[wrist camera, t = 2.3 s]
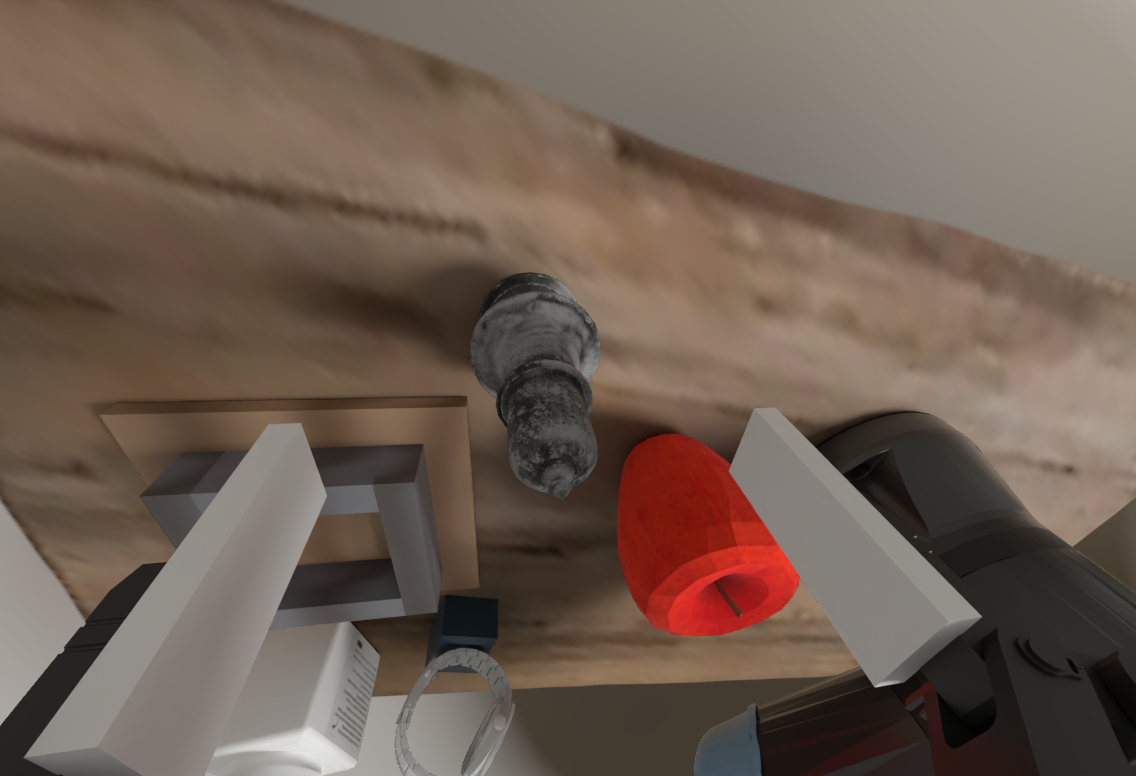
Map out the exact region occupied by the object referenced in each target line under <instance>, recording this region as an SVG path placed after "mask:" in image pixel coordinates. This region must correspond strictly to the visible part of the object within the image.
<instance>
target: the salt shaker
mask: <svg viewBox="0 0 1136 776" xmlns="http://www.w3.org/2000/svg"><path fill="white" fill-rule="evenodd" d="M600 354H601V353H600V337H599V334H598V331H597V328H596V325H595V323H594V322H593V320H592V319H591V317H590V316H589V315H588V313H587V312H586V310H585V309H583V308H582V307H581V306H580V305H578V303H577V300H576V298H575V297H574V296H573V294H572V293H571V291H570V290H569V289H568V288H567V287H566V286H565V285H563V284H562V283H561V282H560V281H558V280H557V279H554V278H552V277H550V276H547V275H544V274H537V273H525V274H517V275H514V276H512V277H509V278H507V279H504V280H503V281H502V282H500V283H499V284H498V285H496V286H495V287H494V288H493V289H492V290H491V291H490V293H489V294H488V295H487V297H486V298H485V300H484V302H483V305H482V308H481V310H480V320H479V321H478V323H477V324H476V326H475V329H474V332H473V334H472V337H471V340H470V355H469V357H470V361H471V365H472V369H473V372H474V374H475V376H476V377H477V379H478V381H479V383H480V384H481V385H482V386H483V387H484V388H485V389H486V390H487V391H488V392H489V393H490V394H491V395H492V396H494V397H496V408H497V412H498V416H499V418H500V419H501V421H502V423H503V424H504V426H506V427H507V428H508V456H509V460H510V464H511V467H512V470H513V472H514V473H515V475H516V476H517V478H518V479H519V480H520V481H522V482H523V483H524V484H525V485H527V486H529V487H531V488H533V489H535V490H537V491H541V492H545V493H550V494H551V495H552V496H555V497H556V498H559V499H560V500H563V499H564V498H565V497H566V496H567V495H568V493H570V491H571V489H573V488H575V487H576V486H578V485H580V484H581V483H582V482H583V481H584V480H585V479H587V477H588V476H589V475H590V474H591V472H592V470H593V469H594V467H595V465H596V462H597V458H598V448H597V440H596V437H595V434H594V431H593V428H592V425H591V421H590V418H589V413H590V410H591V406H592V391H591V388H590V386H589V383H588V382H589V381H590V379H591V378H592V376H593V374H594V372H595V370H596V369H597V366H598V362H599V358H600Z"/></svg>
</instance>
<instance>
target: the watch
mask: <svg viewBox="0 0 1136 776" xmlns="http://www.w3.org/2000/svg"><path fill="white" fill-rule="evenodd" d="M497 639H498V600H496V599H485V598H474V597H463V596H452V595H446V596H445V598H444V600H443V603H442V605H441V607H440V610H439V612H438V614H437V616H436V619H435V621H434V623H433V625H432V628H431V630H430V634H429V642H428V649H427V657H426V664H425V669H424V670H423V671H422V673H421V674H420V676H419V677H418V679H417V680H416V682H415V684H414V685H413V687H412V689H411V691H410V693H409V695H408V697H407V700H406V702H405V704H404V706H403V708H402V711H401V713H400V715H399V717H398V720H397V724H398V726H397V730H396V736H395V748H396V749H395V754H396V759H397V763H398V764H399V768H400V771H401V773H402V774H403V776H435V775H433V774H431V773H428V774H427V775H426V773H427V772H426V770H425V769H424V768H422V767H421V766H420V764H416V760H415V758H414V757H413V755H412V753H411V752H410V751H408V750H409V746H408V742H407V738H406V736H405V734H406V730H407V729H408V726H409V724H410V720H411V716H412V713H413V710H414V707H415V705H416V702H417V701H418V699H419V697H420V696H421V694H422V693H423V691H424V690H425V688H426V687H427V686H428V684H429V683H430V682H431V681H432V680H434V679H435V677H436V675H437V673H438V672H460V673H477V672H480V671H481V675H482V676H483V677H484V678H485V679H486V680H489V681H488V682H489V684H490V686H491V688H492V690H493V691H495V692H494V695H495V698H496V701H495V702H494V703H493V705H492V706H491V708H490V710H489V712H488V713H487V715H486V717H485V719H484V721H483V722H482V724H481V726H480V728H479V730H478V732H477V734H476V736H475V738H474V740H473V742H472V744H471V746H470V748H469V750H468V752H467V755H466V757H465V759H464V762H463V765H462V770H461V774H462V776H485V774H486V773H487V771H488V769H489V767H490V765H491V763H492V762H493V760H494V758H495V756H496V754H497V752H498V750H499V748H500V745H501V743H502V741H503V739H504V737H505V734H506V732H507V730H508V727H509V724H510V722H511V719H512V716H513V713H514V709H515V705H514V704H513V703H511V704H510V701H511V691H512V690H511V687H510V684H509V682H508V679H507V677H505V676H506V675H505V673H504V671H503V669H502V668H501V667H500V666H498V663H497V662H496V661H495V660H494V659H493V658H492V657H489V655H488V654H489V652H490V650H491V649H492V647H493V645H494V644H495V642H496V640H497ZM488 658H489V659H488ZM497 666H498V667H497ZM491 668H492V669H491ZM490 669H491V670H490ZM489 671H490V672H489Z"/></svg>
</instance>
